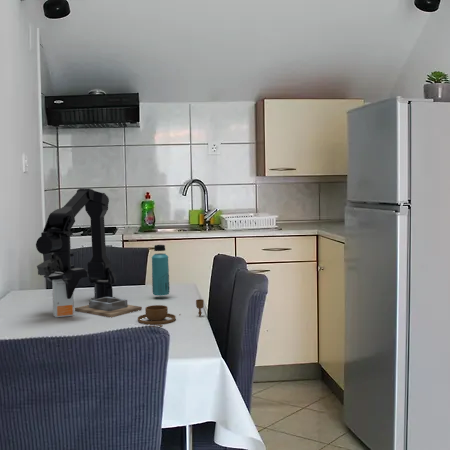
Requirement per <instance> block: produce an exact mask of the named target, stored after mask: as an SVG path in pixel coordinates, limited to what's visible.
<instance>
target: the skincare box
mask: <svg viewBox="0 0 450 450" xmlns="http://www.w3.org/2000/svg"><path fill="white" fill-rule="evenodd" d="M52 284H53V288H52V315H53V316H54V317H55V318H65V317H74V316H75V314H74V312H75V307H74V302H75V301H74V293H73V294H72V297H71V298H70V299H67V293H66V284H65V282H64V281H63V280H62V279H58V280H52Z"/></svg>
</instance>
